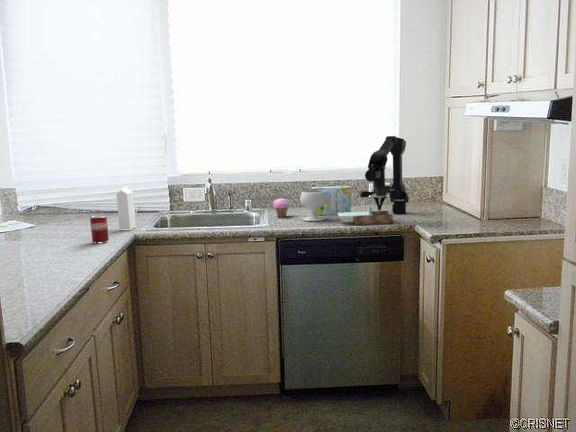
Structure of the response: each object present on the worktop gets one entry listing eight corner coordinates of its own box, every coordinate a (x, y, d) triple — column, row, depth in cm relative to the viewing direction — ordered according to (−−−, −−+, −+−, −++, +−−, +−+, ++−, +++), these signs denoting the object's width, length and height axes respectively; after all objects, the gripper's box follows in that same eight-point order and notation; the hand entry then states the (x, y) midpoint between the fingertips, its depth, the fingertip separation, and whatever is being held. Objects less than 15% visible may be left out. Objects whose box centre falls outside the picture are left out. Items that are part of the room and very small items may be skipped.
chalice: (317, 216, 315) (316, 188, 313) (333, 219, 304) (332, 190, 301) (295, 219, 308) (294, 191, 305) (311, 223, 296) (310, 193, 294)
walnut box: (388, 219, 298) (388, 210, 297) (392, 223, 286) (392, 214, 286) (352, 220, 298) (352, 212, 297) (355, 225, 286) (355, 216, 286)
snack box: (350, 213, 322) (350, 185, 320) (350, 214, 317) (350, 186, 314) (312, 213, 325) (311, 186, 322) (311, 215, 319) (310, 187, 317)
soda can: (94, 241, 273) (92, 215, 271) (110, 240, 274) (108, 214, 272) (90, 244, 266) (88, 218, 264) (107, 243, 267) (104, 217, 265)
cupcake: (289, 217, 314) (288, 199, 312) (273, 218, 314) (272, 199, 313) (289, 215, 323) (289, 197, 321) (274, 215, 323) (273, 197, 321)
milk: (119, 230, 296) (115, 187, 293) (125, 228, 302) (121, 185, 298) (130, 230, 295) (126, 187, 291) (136, 228, 301) (132, 185, 297)
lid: (370, 212, 297) (370, 204, 296) (373, 216, 287) (373, 208, 286) (337, 213, 296) (337, 206, 296) (339, 217, 286) (339, 209, 286)
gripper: (361, 181, 281) (362, 214, 284) (401, 180, 281) (401, 212, 283) (359, 179, 292) (359, 210, 295) (396, 177, 292) (397, 208, 294)
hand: (379, 210), depth 291 cm, fingers closed
